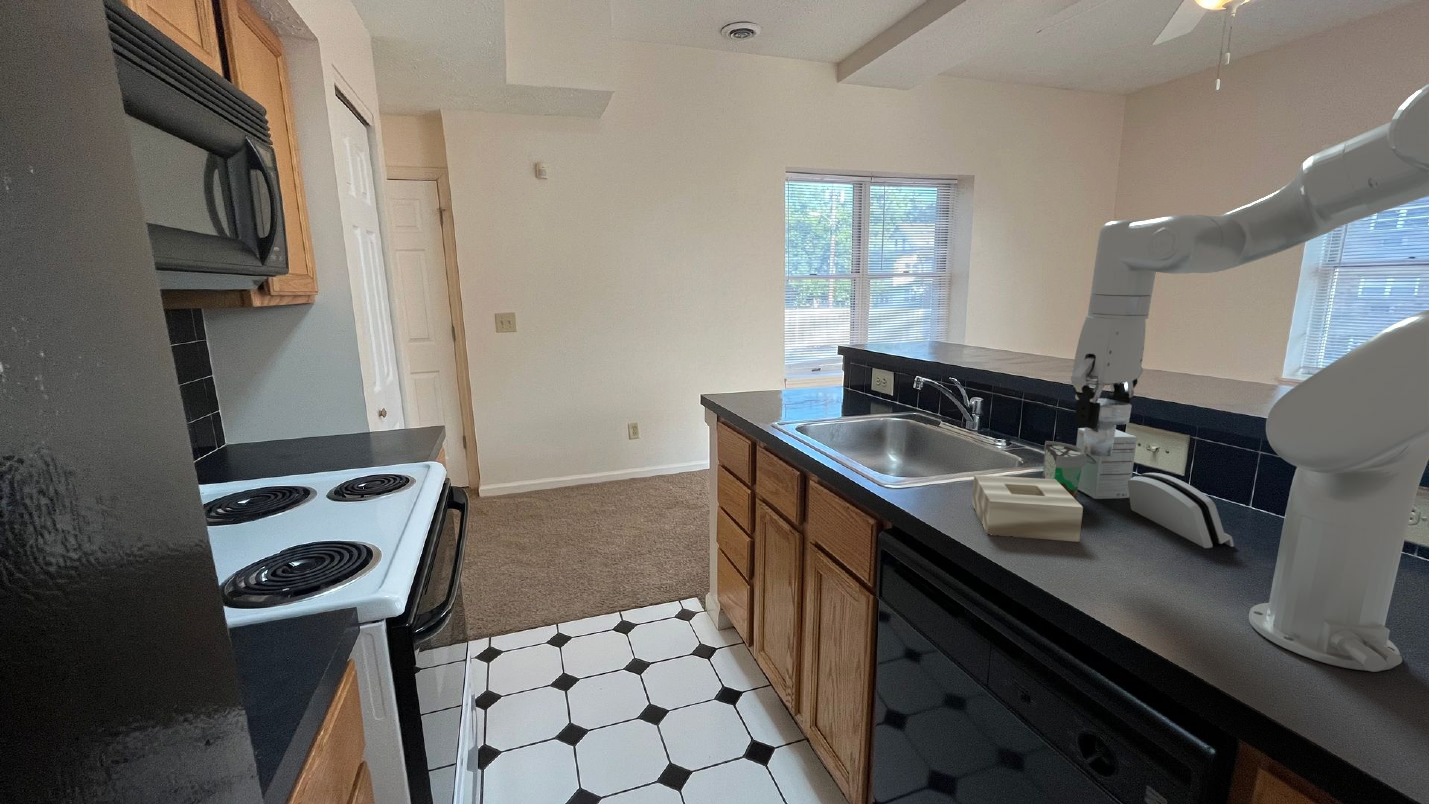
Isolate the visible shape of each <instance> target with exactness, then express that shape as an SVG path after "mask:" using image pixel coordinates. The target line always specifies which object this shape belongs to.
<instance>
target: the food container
mask: <svg viewBox="0 0 1429 804" xmlns="http://www.w3.org/2000/svg"><path fill="white" fill-rule="evenodd" d="M1044 442H1045V443H1044V448H1043V449H1044V455H1043V456H1044V457H1043V466H1042V467H1043V468H1042V469H1043V470H1042V479H1056V480H1057V481H1058V482H1059V483H1060V484H1061V485H1062V486H1063V487H1064V488H1065V489H1066V490H1067V491H1068V492H1069V493H1070V494H1071V495H1072V496H1073V497H1074V498H1075V500H1076V498H1077V494H1078V485H1079V480H1080V475H1081V470H1082V466H1084V465H1086V464H1087V459H1086V454H1085V453H1083V452H1082V449H1081V448H1079V447H1076V445H1073V444H1069V443H1065V442H1064V443H1063V442H1060V441H1059V442H1058V441H1050V440H1045V441H1044Z"/></svg>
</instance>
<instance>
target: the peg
mask: <svg viewBox="0 0 1429 804" xmlns="http://www.w3.org/2000/svg"><path fill="white" fill-rule="evenodd" d="M1097 402H1098V403H1100V409H1099V416H1098V422H1097V427H1096V428H1095V429H1090V428H1086V427H1084V428H1085V430H1084V437H1083V444H1082V452H1083V453H1086V454H1089V455H1093V456H1100V457H1108V456H1111V455H1112V449H1113V443H1114V437H1115V431H1116V430H1117V429H1116V428H1117V426H1118V425H1121V426H1122V425H1128V424H1129V422H1130V418H1131V412H1132V407H1133V406H1132V404H1131V403H1130V404H1129V403H1126V402H1122V401H1118V400H1112V399H1107V398H1104V397H1103V398H1102V397H1099V399H1098V401H1097Z"/></svg>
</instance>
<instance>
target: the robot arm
mask: <svg viewBox="0 0 1429 804" xmlns="http://www.w3.org/2000/svg"><path fill="white" fill-rule="evenodd" d="M1428 196H1429V83H1428V84H1426V85H1425V86H1423V87H1422V88H1420V89H1419V90H1417V91H1415V92H1414V93H1413V94H1412V95H1411V96H1409V97H1408V98H1407V99H1406V100H1405V101H1404V102H1403V103H1402V104H1401V105H1400V106H1399V108H1398V109H1397V110H1396V111H1395V113H1394V115H1393V116H1392V118H1391V121H1389V122H1386V123H1385V124H1382V125H1380V126H1377V127H1375V128H1373V129H1370V130H1368V131H1366V132H1363V133H1362V134H1359V135H1357V136H1355V137H1352V138H1350V139H1347V140H1345V141H1343V142H1340V143H1337V144H1336V145H1333V146H1330V147H1329V148H1326V149H1323V150H1321V151H1319V152H1317V153H1315V154H1313V155H1311V156H1309V157H1308V158H1307V159H1306V160H1304V161H1303V163H1301V165H1300V168H1299V170H1298V171H1297V174H1296V175H1295V177H1294V178H1293V179H1292V180H1291V181H1290V182H1289V183H1288V184H1286V185H1285V186H1283V187H1282V188H1280V189H1279V190H1277V191H1275V192H1273V193H1271V194H1269V195H1267V196H1265V197H1263V198H1260V199H1258V200H1256V201H1254V202H1251V203H1248V204H1246V205H1243V206H1241V207H1239V208H1236V209H1234V210H1231V211H1228V212H1225V213H1224V214H1220V215H1206V214H1205V215H1203V214H1176V215H1175V214H1173V215H1167V216H1163V217H1157V218H1152V219H1121V220H1119V219H1118V220H1112V221H1109V222H1106V223H1104V225H1103V226H1102V227H1101V229H1100V230H1099V235H1098V240H1097V248H1096V255H1095V262H1094V269H1093V276H1092V282H1091V290H1090V297H1089V303H1088V310H1087V316H1086V317H1085V319H1084V322H1083V325H1082V327H1081V330H1080V334H1079V338H1078V341H1077V345H1076V351H1075V356H1074V360H1073V365H1072V372H1071V373H1072V375H1071V377H1070V381H1071V383H1072V386H1073V390H1074V394H1075V395H1074V397H1075V398H1074V399H1075V400H1076V404H1075V405H1076V406H1075V412H1074V413H1075V414H1074V418H1073V419H1074V420H1073V423H1074V425H1075V426H1078V427H1081V428H1085V427H1086V428H1090V429H1095V428H1096V427H1097V422H1098V416H1099V409H1100V403H1098V402H1097V401H1098V399H1099V398H1101V394H1102V392H1103V390H1104V388H1105V386H1110V392H1111V393H1108V394H1107V398H1106V399H1112V400H1118V401H1122V402H1126V403H1129V404H1131V401H1132V397H1133V396H1134V394H1135V387H1136V386H1137V384H1138V382H1139V381H1138V380H1139V379H1140V377H1141V376H1142V374H1143V372H1144V368H1143V367H1142V365H1143V358H1144V352H1145V351H1144V350H1145V344H1146V343H1145V340H1146V327H1147V326H1146V323H1147V322H1146V320H1148V319H1149V315H1150V308H1151V303H1152V297H1153V296H1152V295H1153V291H1154V284H1155V279H1156V274H1157V273H1161V274H1173V275H1176V274H1177V275H1178V274H1195V273H1196V274H1209V273H1210V274H1211V273H1218V272H1223V271H1227V270H1229V269H1233V268H1234V269H1235V268H1237V267H1239V266H1244V265H1245V264H1249V263H1253V262H1255V261H1259V260H1260V259H1265V258H1267V257H1270V256H1273V255H1277V254H1279V253H1282V252H1285V251H1287V250H1290V249H1292V248H1294V247H1298V246H1299V245H1300V246H1301V245H1302V244H1305V243H1307V242H1309V241H1312V240H1314V239H1316V238H1317V237H1321V236H1323V235H1326V234H1328V233H1331V232H1332V231H1334V230H1335V229H1337V228H1341V227H1342V226H1345V225H1347V224H1351V223H1354V222H1356V221H1359V220H1361V219H1362V220H1363V219H1364V218H1367V217H1370V216H1373V215H1377V214H1380V213H1382V212H1385V211H1388V210H1392V209H1394V208H1397V207H1400V206H1403V205H1405V204H1408V203H1412V202H1415V201H1417V200H1420V199H1423V198H1426V197H1428ZM1091 387H1093V390H1092V389H1091ZM1265 435H1266V438H1267V441H1268V443H1269V445H1270V447H1271V449H1272V450H1273V451H1274V452H1275V453H1276V454H1277V456H1278V457H1280V458H1281V459H1282V460H1284V461H1285V462H1287V463H1288V464H1290V465H1292V466H1295V467H1296V469H1295V470H1294V471H1295V472H1294V475H1293V478H1292V482H1291V486H1290V488H1289V489H1290V490H1289V496H1288V500H1287V505H1286V509H1285V515H1284V521H1283V525H1282V530H1281V534H1280V535H1281V536H1280V540H1279V541H1280V542H1279V547H1278V551H1277V558H1276V562H1275V566H1274V567H1275V569H1274V573H1273V579H1272V583H1271V584H1272V585H1271V589H1270V595H1269V600H1268V601H1269V602H1263V603H1258V604H1256V605H1254V606H1252V607H1251V608H1250V610H1249V613H1248V622H1249V623H1250V625H1251V627H1253V629H1255V631H1256V632H1257V633H1259V634H1260V635H1261V636H1262V637H1265V638H1266V639H1267V640H1269V641H1271V642H1272V643H1274V644H1276V645H1278V646H1279V647H1282V648H1283V649H1286V650H1288V651H1290V652H1293V653H1295V654H1298V655H1299V656H1303V657H1306V658H1308V659H1311V660H1314V661H1316V662H1317V661H1318V662H1321V663H1325V664H1327V665H1331V666H1335V667H1341V668H1345V669H1350V670H1356V671H1357V670H1358V671H1368V672H1373V673H1374V672H1376V673H1377V672H1381V671H1386V670H1391V669H1393V668H1395V667H1397V666H1398V665H1400V664H1401V663H1402V662H1403V657H1402V656H1401V655H1400V654H1401V653H1400V651H1399V648H1398V647H1397V646H1396V645H1395V644H1394V643H1393V641H1391V640H1390V639H1389V638H1390V636H1389V635H1390V632H1391V629H1389V628H1388V627H1386V621H1387V617H1388V612H1389V609H1390V608H1389V607H1390V605H1391V600H1392V596H1393V591H1394V588H1395V583H1396V579H1397V578H1396V577H1397V574H1398V569H1399V564H1400V561H1401V556H1402V552H1403V549H1404V543H1405V540H1406V536H1407V531H1408V529H1409V524H1410V520H1411V515H1412V513H1413V508H1414V503H1415V500H1416V497H1417V493H1418V489H1419V486H1420V484H1421V480H1422V478H1423V475H1424V472H1425V469H1426V467H1427V465H1428V461H1429V309H1427V310H1424V311H1420V312H1417V313H1415V314H1412V315H1410V316H1408V317H1406V318H1404V319H1402V320H1400V321H1399V320H1398V321H1397V322H1396V323H1393V324H1392V325H1390V326H1388V327H1386V328H1384V329H1383V330H1381V331H1380V332H1378V333H1376V334H1374V335H1373V336H1372V337H1370V338H1368V339H1367V340H1366V341H1365V340H1364V341H1363V342H1362V343H1360V344H1359V345H1358V346H1356V347H1355V348H1352V350H1350V351H1349V352H1346V353H1345V354H1344V355H1342V356H1340V357H1339V358H1338V359H1336V360H1335V361H1333V362H1331V363H1329V364H1327V366H1325V367H1323V368H1322V369H1320V370H1319V371H1318V372H1316V373H1314V374H1312V375H1311V376H1309V377H1308V378H1306V379H1304V380H1303V381H1302V382H1301V383H1299V384H1297V385H1296V386H1294V387H1293V388H1291V389H1290V390H1288V391H1287V392H1286V393H1285V394H1283V395H1282V396H1281V397H1280V398H1278V399H1277V400H1276V402H1275V403H1274V404H1273V406H1272V407H1271V409H1270V410H1269V412H1268V415H1267V418H1266V422H1265Z"/></svg>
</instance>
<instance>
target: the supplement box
mask: <svg viewBox="0 0 1429 804" xmlns="http://www.w3.org/2000/svg"><path fill="white" fill-rule="evenodd" d="M1084 430H1085V427H1080V428H1079V427H1078V428H1077V437H1076V444H1075V446H1076V447H1079V448H1081V449H1082V444H1083V437H1084ZM1137 441H1138V437H1137V436H1135V435H1132V434H1130V433H1127V432H1124V431H1121V430H1118V429H1116V431H1115V437H1114V443H1113V449H1112V455H1111V456H1108V457H1100V456H1093V455H1089V454H1086V453H1085V454H1086V459H1087V464H1086V465H1084V466H1082V470H1081V475H1080V480H1079V485H1078V489H1077V491H1078V490H1079V491H1080V492H1082V493H1083V494H1086V495H1088V496H1090V497H1091V498H1092V499H1095V500H1103V499H1104V500H1106V499H1108V500H1109V499H1127V498H1128V499H1130V497H1129V490H1128V480H1130V479H1131V478H1133V477H1132V476H1133V469H1134V465H1135V464H1134V463H1135V455H1136V448H1137V443H1138V442H1137Z"/></svg>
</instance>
